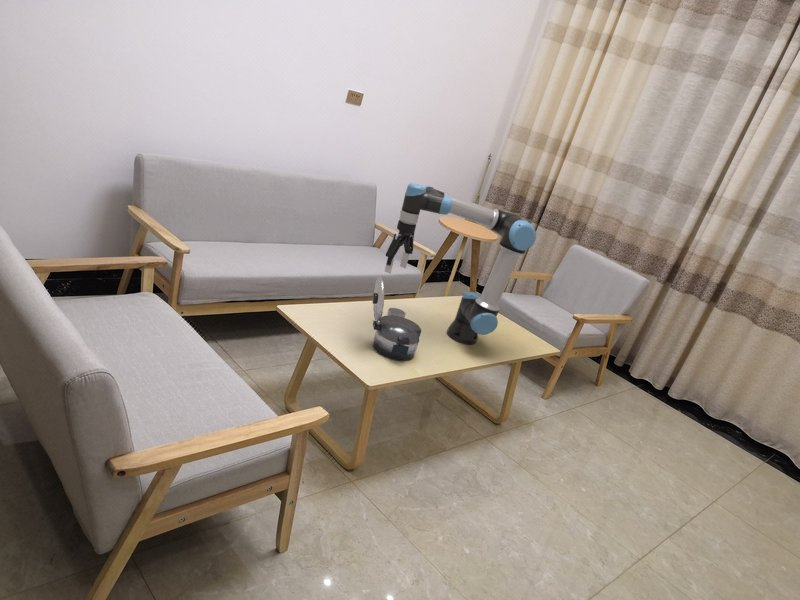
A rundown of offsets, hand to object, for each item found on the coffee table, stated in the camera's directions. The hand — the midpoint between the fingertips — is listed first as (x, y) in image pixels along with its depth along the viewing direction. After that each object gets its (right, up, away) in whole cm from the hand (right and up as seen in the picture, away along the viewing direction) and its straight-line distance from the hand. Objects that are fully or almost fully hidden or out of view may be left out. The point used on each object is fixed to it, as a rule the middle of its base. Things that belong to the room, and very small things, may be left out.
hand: (395, 269), depth 229 cm
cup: (-2, -27, +19) cm, 33 cm away
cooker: (-1, -34, +1) cm, 34 cm away
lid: (-5, -13, -9) cm, 17 cm away
